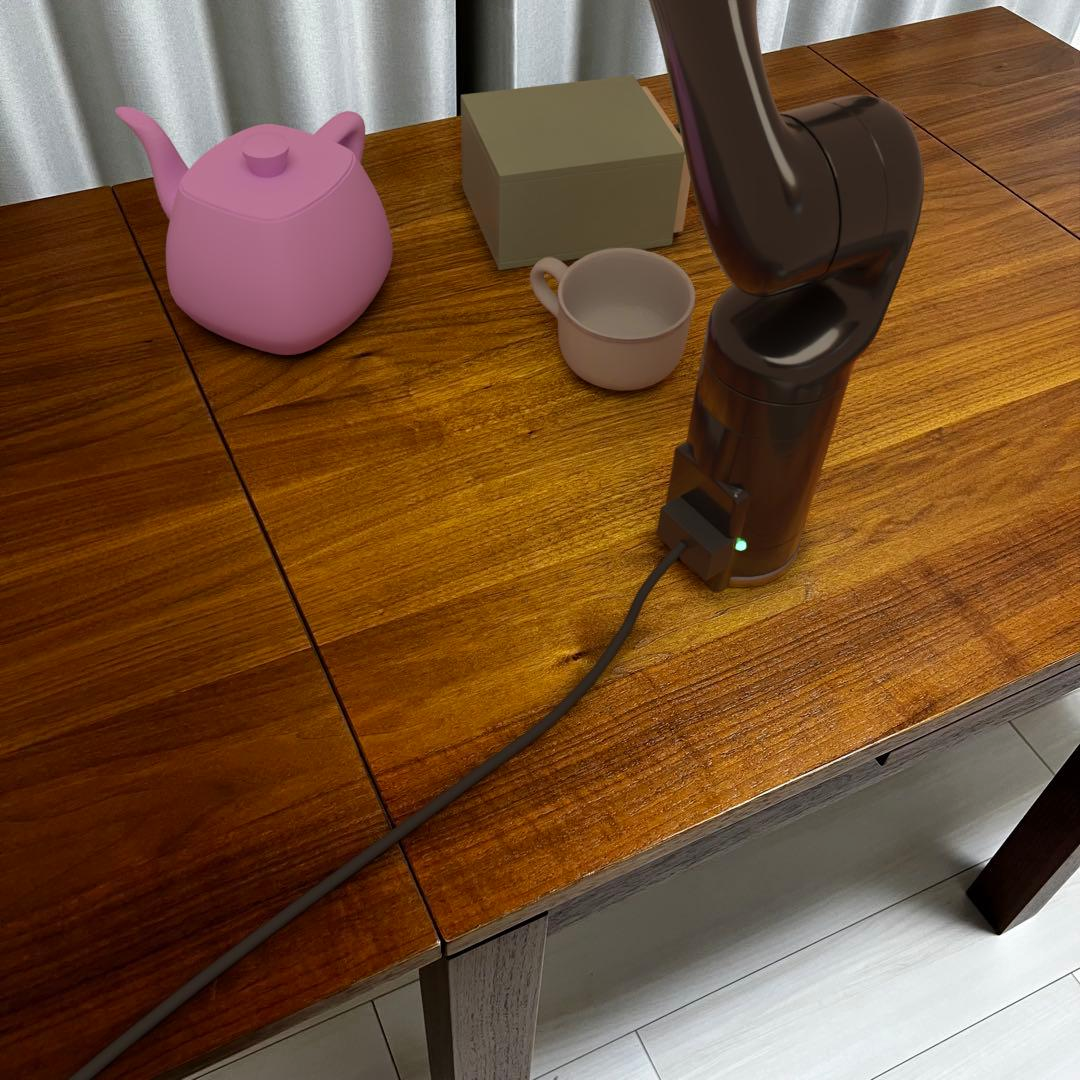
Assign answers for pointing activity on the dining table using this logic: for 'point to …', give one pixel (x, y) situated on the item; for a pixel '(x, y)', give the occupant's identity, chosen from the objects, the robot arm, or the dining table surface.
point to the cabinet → (569, 170)
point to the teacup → (619, 315)
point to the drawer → (685, 172)
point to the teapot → (271, 231)
